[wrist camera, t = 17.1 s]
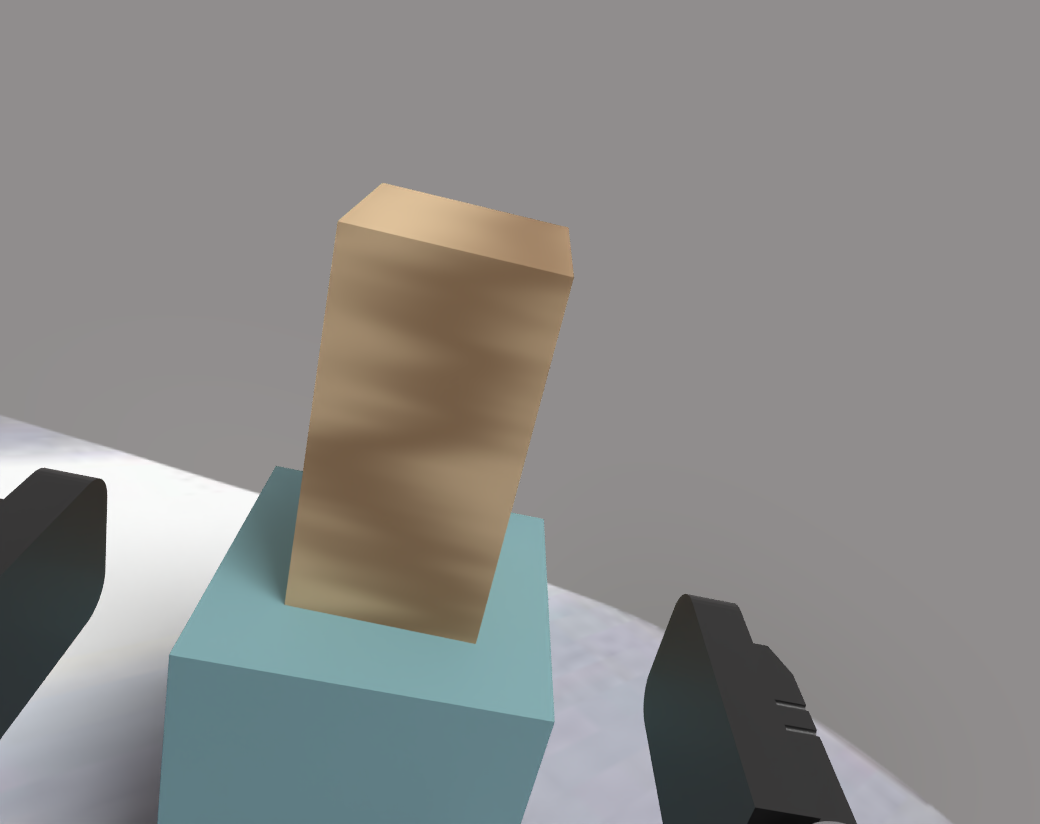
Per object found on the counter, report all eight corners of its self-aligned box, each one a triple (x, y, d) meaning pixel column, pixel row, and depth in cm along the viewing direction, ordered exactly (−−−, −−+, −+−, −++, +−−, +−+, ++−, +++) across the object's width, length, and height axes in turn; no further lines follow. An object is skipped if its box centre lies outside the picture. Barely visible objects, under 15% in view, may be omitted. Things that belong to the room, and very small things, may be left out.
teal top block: (156, 834, 21) (169, 654, 19) (258, 610, 29) (276, 465, 27) (499, 886, 22) (554, 721, 19) (504, 655, 30) (543, 519, 28)
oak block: (284, 605, 21) (337, 221, 17) (331, 504, 25) (382, 182, 21) (476, 644, 21) (573, 277, 17) (488, 537, 26) (568, 227, 22)
